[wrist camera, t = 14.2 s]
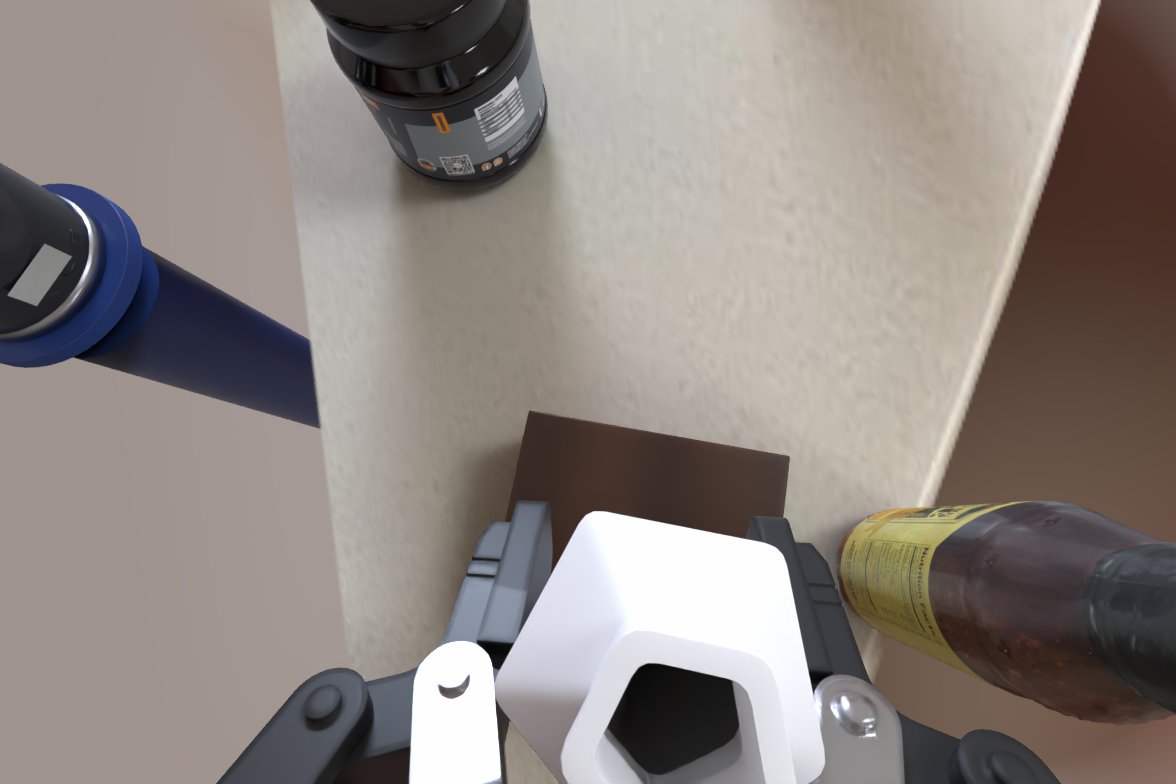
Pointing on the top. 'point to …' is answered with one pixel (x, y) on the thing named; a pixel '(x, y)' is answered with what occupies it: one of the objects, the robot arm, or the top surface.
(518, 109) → the supplement container
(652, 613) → the white faceted vase
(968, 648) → the sauce bottle
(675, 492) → the box
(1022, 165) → the top surface
